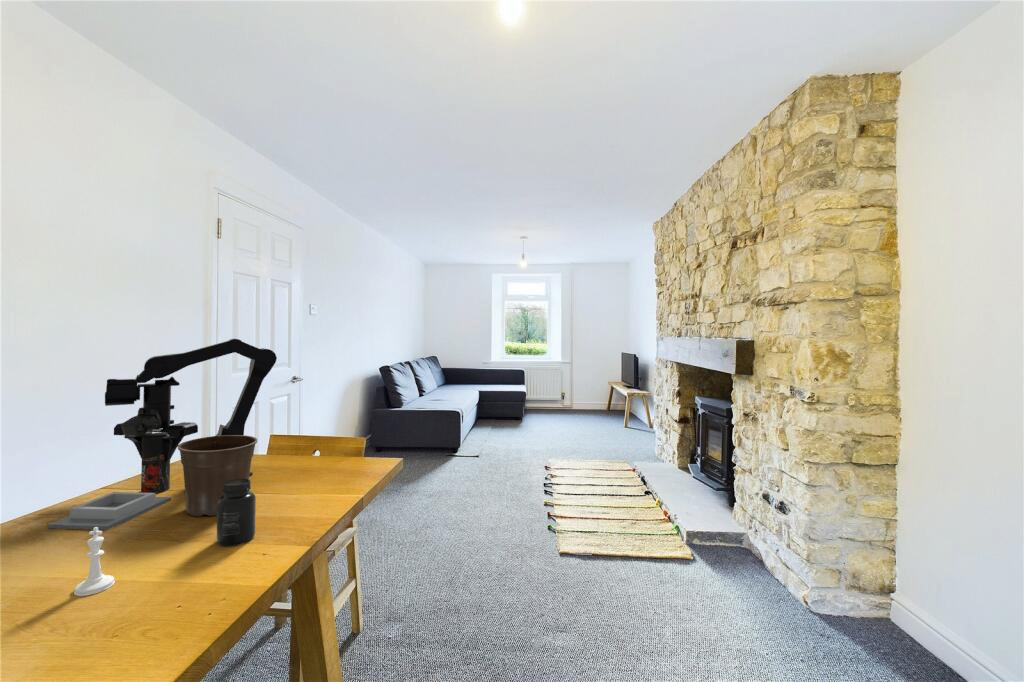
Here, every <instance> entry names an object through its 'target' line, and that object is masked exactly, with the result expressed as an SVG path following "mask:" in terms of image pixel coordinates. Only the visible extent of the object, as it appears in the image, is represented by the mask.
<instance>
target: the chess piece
mask: <svg viewBox="0 0 1024 682" xmlns="http://www.w3.org/2000/svg"><path fill="white" fill-rule="evenodd" d="M102 534H103V530H98V527H95V528H93V529H92V530H91V531H89V533H88V535H90V536H92V535H93V536H92V537H91V538H89V539H88V540H87V542H86V543H87V545H88V548H89V549H90V552H88V553H86V558H91V560H90V565H89V570H88V575H87V577H86V578H85V579H84V580H83V581H80V583H78V584H77V585H76V586H75V587H74V591H73V594H74V595H75V596H76V597H77V596H78V597H84V596H90V595H95V594H98V593H101V592H104V591H105V590H106V591H107V589H110V588H111V587H113V586H114V584H115V577H114V576H113V575H111V574H110V575H109V574H104V573H102V568H101V559H100V556H102V555H103V554H104V553H105V551H104V549H101V548H102V544H103V542H104V540H105V538H104V537H103V536H100V535H102Z"/></svg>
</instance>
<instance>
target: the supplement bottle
mask: <svg viewBox="0 0 1024 682" xmlns="http://www.w3.org/2000/svg"><path fill="white" fill-rule="evenodd" d="M251 483H252V482H251V480H250V478H249V479H235V480H230V481H227V482H225V483H224V485H223V494H224V495H223V496H222V497H221V498H220V499H219V500H218V502H217V515H216V543H217V544H218V545H220V546H221V547H222V546H223V547H233V546H238V545H242V544H245V543H247V542H250V541H251V540H252V539H254V537H255V535H256V516H257V513H256V510H257V509H256V508H257V507H256V506H257V502H256V501H257V499H256V498H257V497H256V494H255V493H254V492H252V491H251V488H252V487H251Z"/></svg>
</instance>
